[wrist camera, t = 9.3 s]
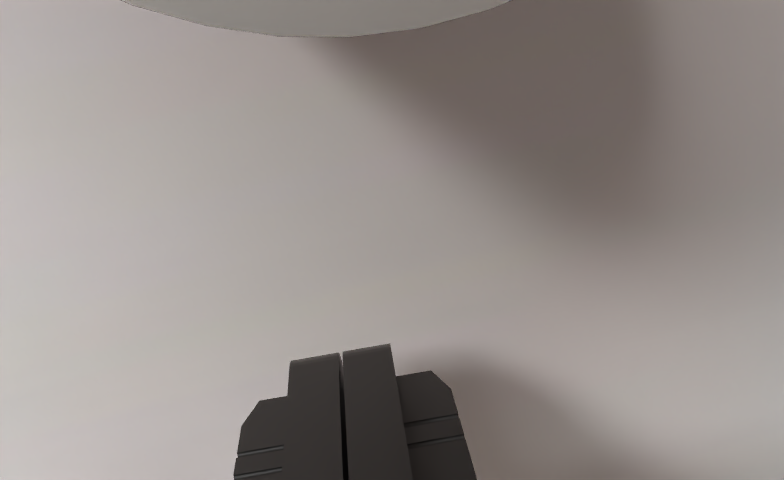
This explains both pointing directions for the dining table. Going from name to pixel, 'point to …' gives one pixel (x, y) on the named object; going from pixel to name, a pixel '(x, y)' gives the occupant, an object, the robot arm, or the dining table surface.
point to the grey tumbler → (318, 14)
